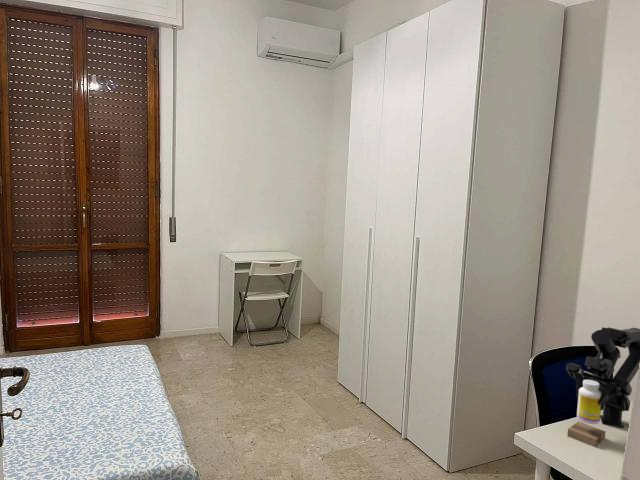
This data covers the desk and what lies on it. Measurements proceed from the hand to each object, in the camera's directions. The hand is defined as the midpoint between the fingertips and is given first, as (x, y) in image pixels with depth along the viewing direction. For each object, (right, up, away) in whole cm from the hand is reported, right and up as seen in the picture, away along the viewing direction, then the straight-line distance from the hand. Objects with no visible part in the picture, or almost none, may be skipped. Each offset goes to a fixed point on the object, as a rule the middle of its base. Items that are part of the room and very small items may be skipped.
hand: (587, 400), depth 150 cm
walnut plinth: (+1, -13, +2) cm, 13 cm away
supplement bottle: (+1, -7, +2) cm, 7 cm away
